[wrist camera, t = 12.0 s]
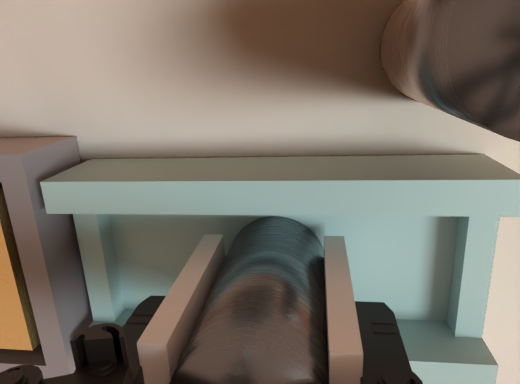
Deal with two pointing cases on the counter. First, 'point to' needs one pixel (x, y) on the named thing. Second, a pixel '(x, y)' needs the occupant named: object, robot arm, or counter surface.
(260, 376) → the cell
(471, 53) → the cell
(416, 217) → the trough
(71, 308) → the grey square tray
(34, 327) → the orange square tile
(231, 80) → the counter surface
